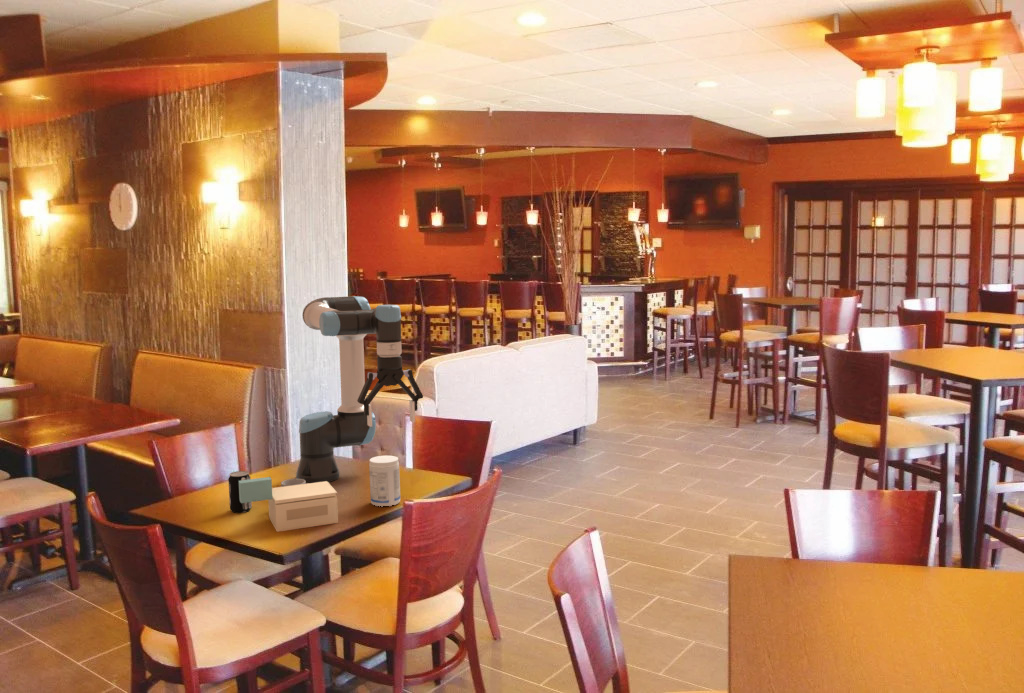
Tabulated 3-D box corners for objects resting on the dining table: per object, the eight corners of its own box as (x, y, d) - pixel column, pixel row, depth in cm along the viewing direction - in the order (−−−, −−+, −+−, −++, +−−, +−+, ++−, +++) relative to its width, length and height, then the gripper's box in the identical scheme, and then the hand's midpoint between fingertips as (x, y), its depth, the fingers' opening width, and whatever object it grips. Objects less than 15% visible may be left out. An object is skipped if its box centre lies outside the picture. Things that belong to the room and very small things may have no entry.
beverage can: (229, 508, 268) (227, 471, 267) (251, 506, 271) (249, 469, 269) (230, 514, 262) (228, 477, 261) (252, 512, 265) (250, 474, 263)
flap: (237, 495, 254) (236, 476, 253) (328, 484, 265) (327, 465, 264) (243, 508, 241) (242, 487, 241) (338, 495, 253) (337, 476, 252)
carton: (269, 517, 259) (268, 492, 258) (327, 509, 266) (326, 485, 265) (276, 531, 246) (275, 505, 245) (338, 522, 253) (337, 496, 252)
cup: (311, 505, 270) (310, 479, 269) (291, 514, 261) (290, 488, 260) (292, 503, 273) (291, 477, 272) (272, 512, 264) (270, 485, 263)
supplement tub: (390, 496, 279) (389, 453, 277) (406, 503, 272) (405, 459, 270) (364, 502, 273) (363, 458, 271) (380, 509, 266) (378, 464, 264)
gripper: (352, 359, 249) (354, 429, 252) (432, 354, 260) (433, 421, 262) (346, 356, 256) (348, 425, 259) (424, 351, 266) (425, 417, 269)
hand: (391, 423), depth 260 cm, fingers open, 13 cm apart
